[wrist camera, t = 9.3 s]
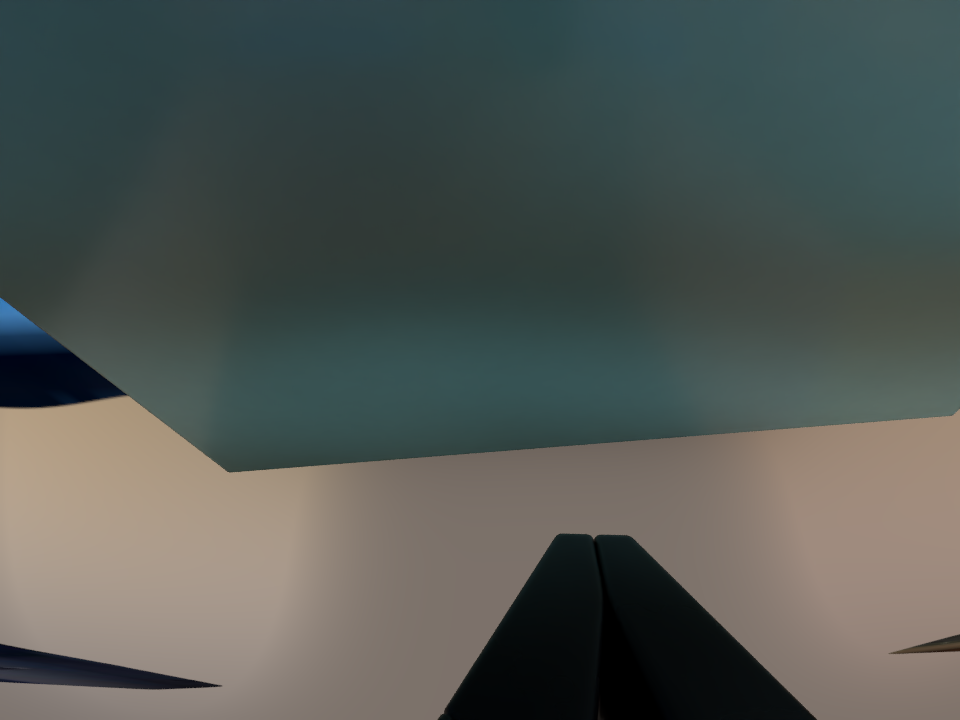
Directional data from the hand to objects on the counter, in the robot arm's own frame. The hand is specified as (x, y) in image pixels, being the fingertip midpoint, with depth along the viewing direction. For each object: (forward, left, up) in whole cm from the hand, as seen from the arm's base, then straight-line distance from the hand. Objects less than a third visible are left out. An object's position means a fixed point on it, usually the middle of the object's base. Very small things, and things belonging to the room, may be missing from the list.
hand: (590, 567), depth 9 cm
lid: (0, 0, -5) cm, 5 cm away
